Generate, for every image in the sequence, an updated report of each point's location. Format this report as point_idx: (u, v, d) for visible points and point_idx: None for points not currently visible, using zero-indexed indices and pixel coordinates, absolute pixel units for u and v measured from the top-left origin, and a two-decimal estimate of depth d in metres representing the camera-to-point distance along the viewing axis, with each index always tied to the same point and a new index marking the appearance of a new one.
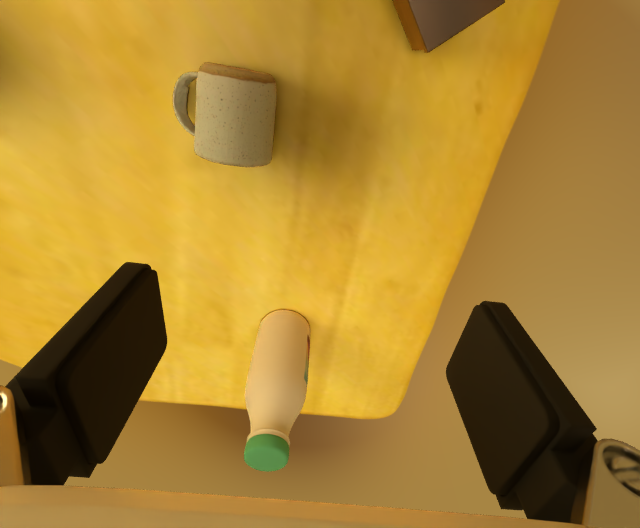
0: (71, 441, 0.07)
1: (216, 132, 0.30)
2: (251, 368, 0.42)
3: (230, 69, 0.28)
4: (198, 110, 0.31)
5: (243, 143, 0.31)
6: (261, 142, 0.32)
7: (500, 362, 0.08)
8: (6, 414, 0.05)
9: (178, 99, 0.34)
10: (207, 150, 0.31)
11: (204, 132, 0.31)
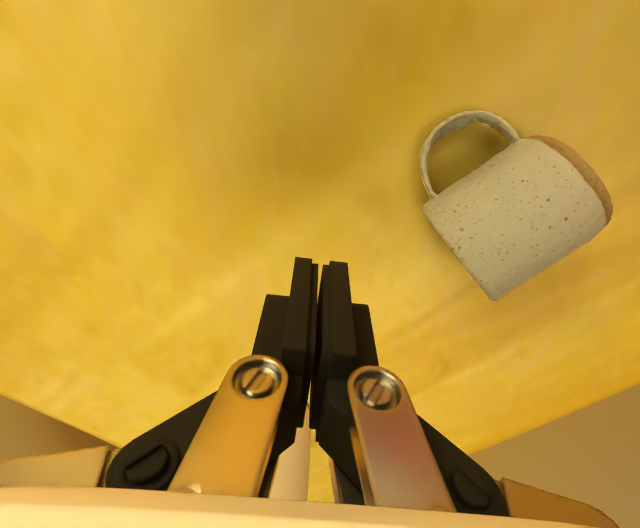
0: None
1: (514, 245, 0.18)
2: None
3: (607, 193, 0.18)
4: (507, 194, 0.18)
5: (522, 277, 0.20)
6: (525, 281, 0.21)
7: (321, 310, 0.09)
8: (287, 377, 0.07)
9: (445, 129, 0.21)
10: (476, 252, 0.19)
11: (493, 229, 0.18)
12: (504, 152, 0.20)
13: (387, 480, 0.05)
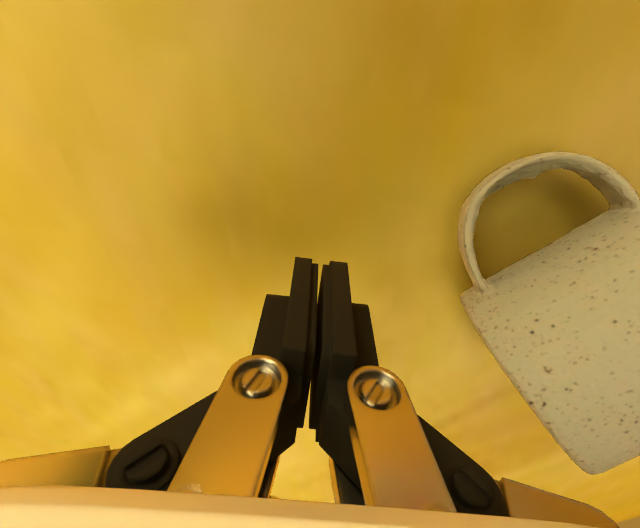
0: None
1: None
2: None
3: None
4: (637, 314, 0.10)
5: None
6: None
7: (321, 310, 0.09)
8: (287, 377, 0.07)
9: (505, 180, 0.13)
10: (577, 417, 0.10)
11: (612, 380, 0.10)
12: (613, 225, 0.12)
13: (387, 480, 0.05)
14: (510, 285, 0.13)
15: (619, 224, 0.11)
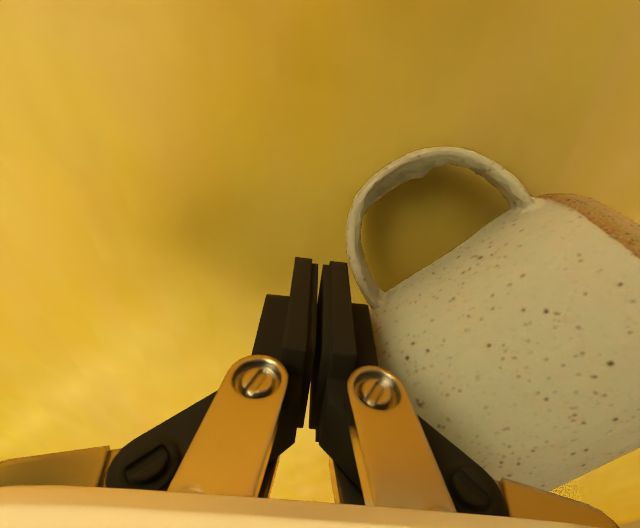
0: None
1: (533, 451, 0.08)
2: None
3: None
4: (512, 337, 0.08)
5: (552, 489, 0.10)
6: None
7: (321, 310, 0.09)
8: (288, 377, 0.07)
9: (387, 182, 0.11)
10: None
11: (486, 415, 0.08)
12: (502, 229, 0.10)
13: (387, 480, 0.05)
14: (398, 301, 0.11)
15: (507, 227, 0.10)
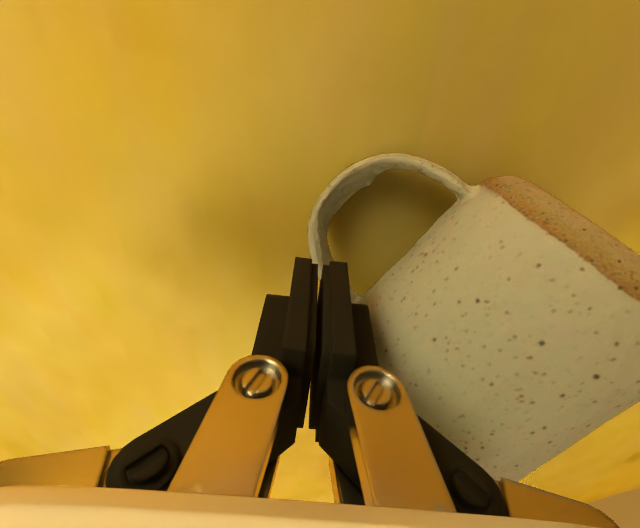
0: None
1: (492, 434, 0.09)
2: None
3: None
4: (453, 329, 0.09)
5: (535, 467, 0.10)
6: None
7: (321, 310, 0.09)
8: (288, 377, 0.07)
9: (335, 197, 0.12)
10: None
11: (442, 405, 0.09)
12: (444, 223, 0.10)
13: (387, 480, 0.05)
14: None
15: (447, 221, 0.10)
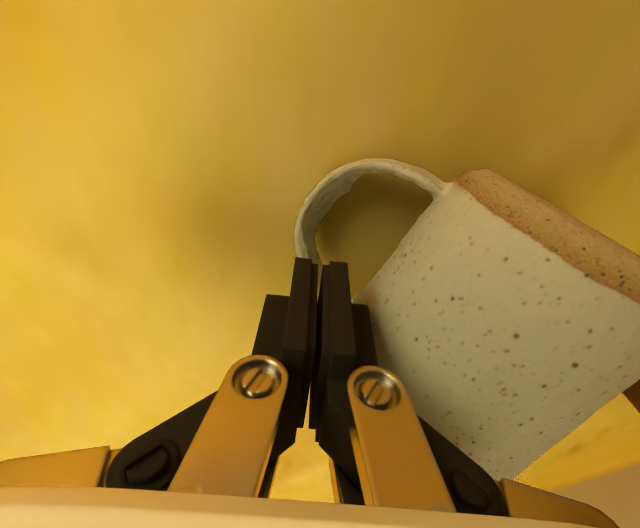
0: None
1: (481, 428, 0.09)
2: None
3: None
4: (432, 328, 0.09)
5: (533, 458, 0.10)
6: None
7: (321, 310, 0.09)
8: (287, 377, 0.07)
9: (317, 206, 0.12)
10: None
11: (429, 403, 0.09)
12: (421, 222, 0.10)
13: (386, 480, 0.05)
14: None
15: (423, 220, 0.10)
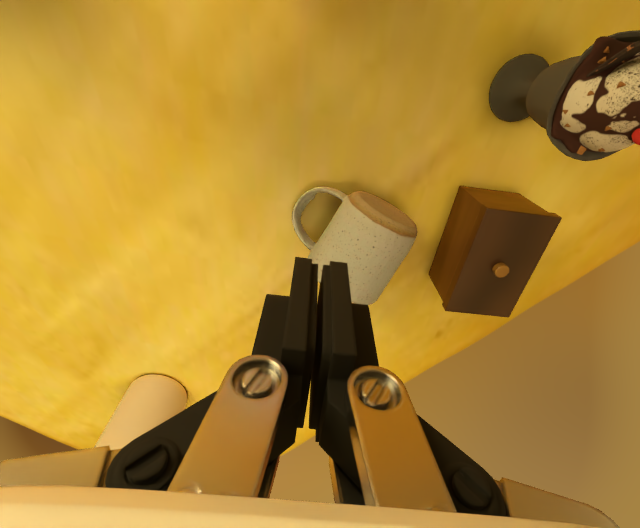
0: None
1: (352, 272, 0.28)
2: None
3: (393, 222, 0.27)
4: (337, 241, 0.28)
5: (373, 286, 0.29)
6: (385, 285, 0.30)
7: (321, 310, 0.09)
8: (287, 377, 0.07)
9: (301, 204, 0.32)
10: None
11: None
12: None
13: (387, 480, 0.05)
14: (316, 243, 0.31)
15: (338, 209, 0.30)
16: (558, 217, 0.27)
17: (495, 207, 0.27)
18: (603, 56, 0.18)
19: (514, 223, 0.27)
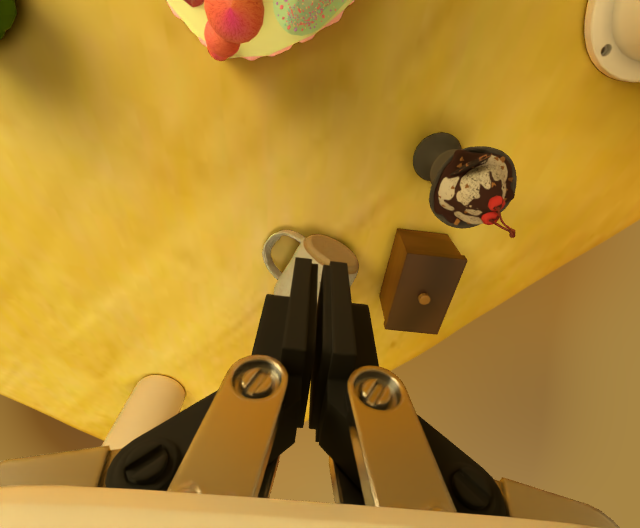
0: None
1: None
2: (116, 433, 0.45)
3: None
4: None
5: None
6: None
7: (321, 310, 0.09)
8: (287, 377, 0.07)
9: (269, 244, 0.40)
10: None
11: None
12: None
13: (387, 480, 0.05)
14: (281, 275, 0.39)
15: None
16: (464, 259, 0.35)
17: (415, 252, 0.35)
18: (460, 162, 0.26)
19: (430, 264, 0.35)
